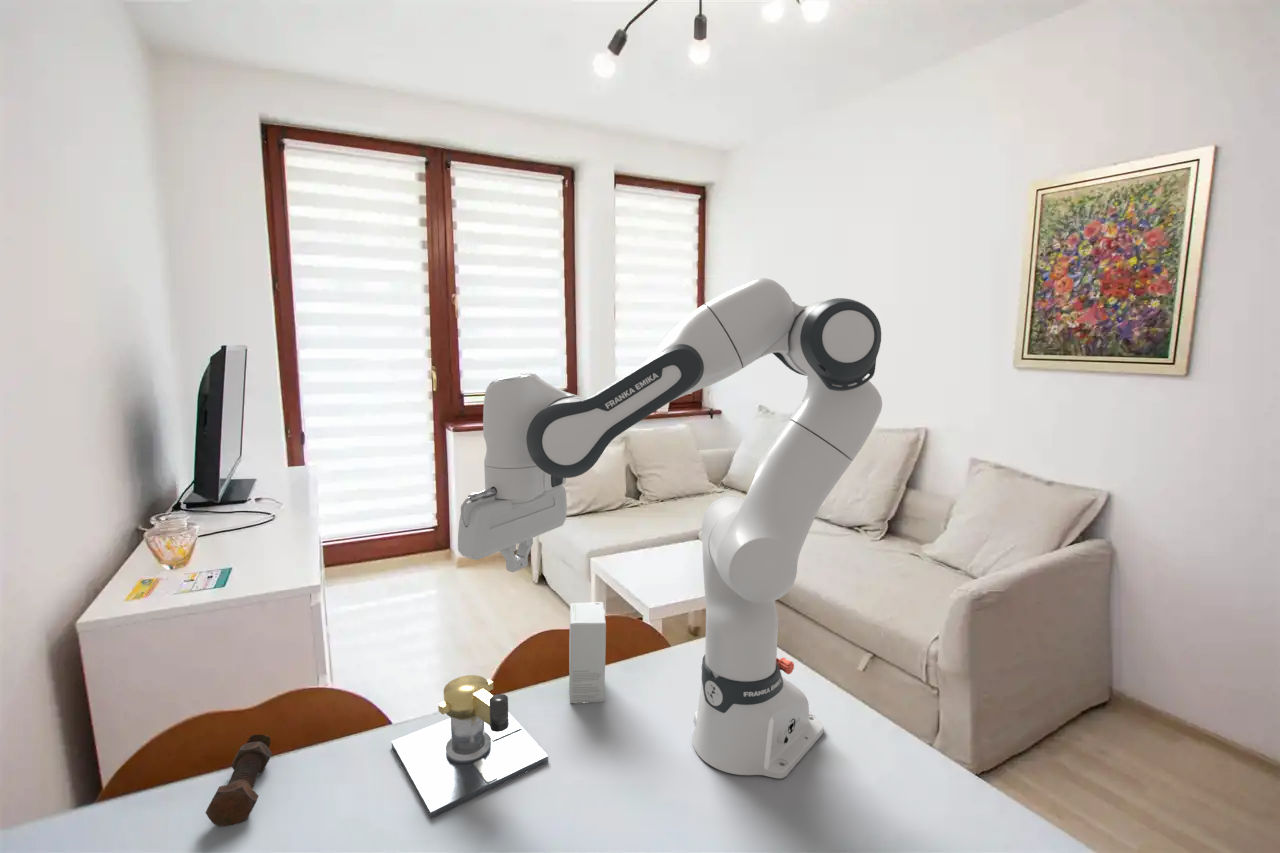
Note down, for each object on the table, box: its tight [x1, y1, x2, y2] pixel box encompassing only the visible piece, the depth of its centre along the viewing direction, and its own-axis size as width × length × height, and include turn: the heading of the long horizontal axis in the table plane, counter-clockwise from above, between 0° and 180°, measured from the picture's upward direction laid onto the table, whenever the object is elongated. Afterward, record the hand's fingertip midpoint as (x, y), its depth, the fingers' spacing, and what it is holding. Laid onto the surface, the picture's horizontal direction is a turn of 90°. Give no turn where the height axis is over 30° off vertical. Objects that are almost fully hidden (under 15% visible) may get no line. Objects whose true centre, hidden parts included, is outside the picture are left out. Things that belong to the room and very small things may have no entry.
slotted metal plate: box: [391, 711, 549, 819], centre depth 93 cm, size 18×18×8 cm
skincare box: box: [568, 601, 607, 704], centre depth 109 cm, size 8×7×16 cm
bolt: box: [205, 734, 272, 828], centre depth 86 cm, size 6×5×15 cm
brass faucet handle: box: [437, 674, 509, 732], centre depth 90 cm, size 13×9×5 cm
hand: (517, 568), depth 92 cm, fingers closed
